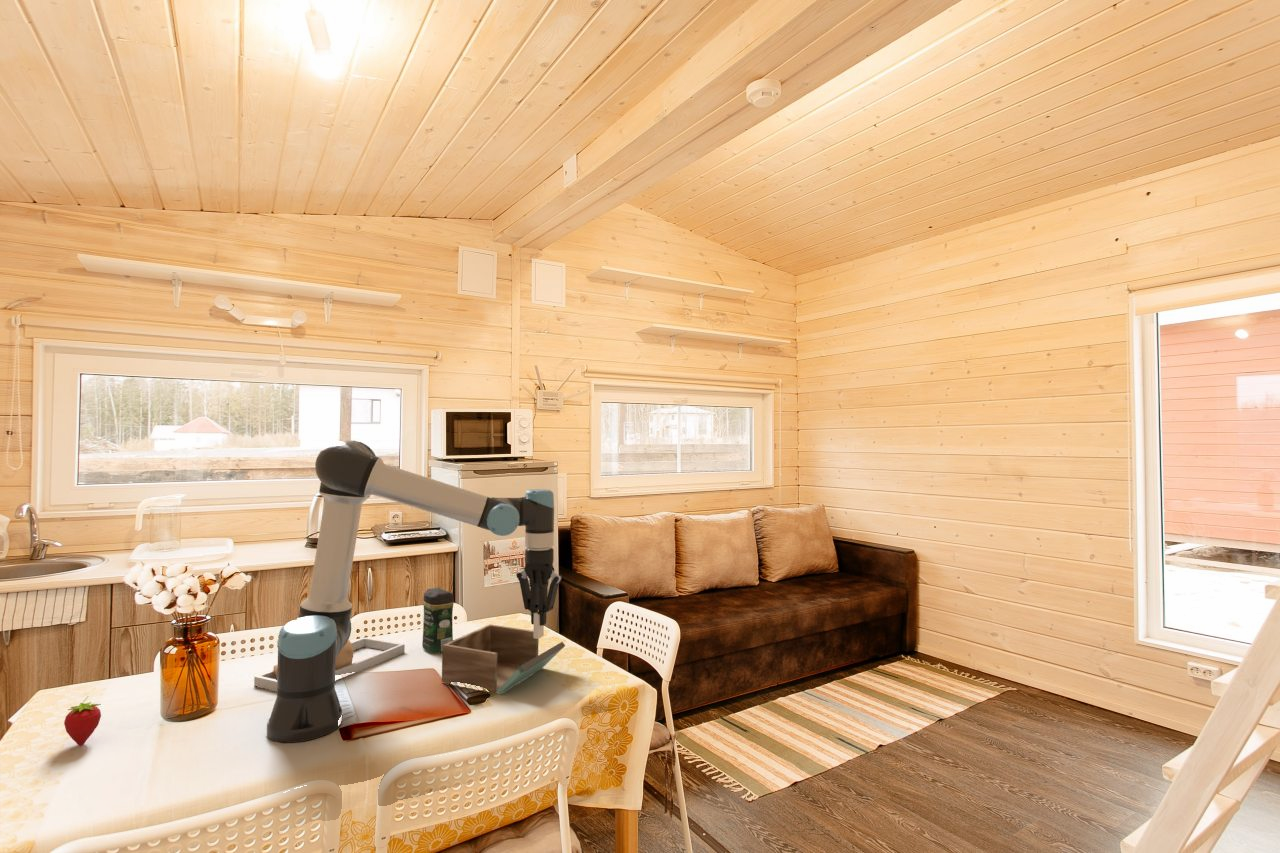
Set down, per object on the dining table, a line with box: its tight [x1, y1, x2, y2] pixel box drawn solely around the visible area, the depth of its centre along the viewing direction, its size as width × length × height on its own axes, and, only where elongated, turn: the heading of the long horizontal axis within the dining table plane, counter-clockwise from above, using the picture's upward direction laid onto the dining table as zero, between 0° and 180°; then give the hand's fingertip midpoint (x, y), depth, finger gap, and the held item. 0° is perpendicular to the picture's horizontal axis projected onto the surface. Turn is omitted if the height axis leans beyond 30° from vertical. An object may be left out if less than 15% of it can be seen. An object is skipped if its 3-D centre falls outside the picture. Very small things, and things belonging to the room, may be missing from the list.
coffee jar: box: [422, 587, 455, 654], centre depth 200 cm, size 10×8×19 cm
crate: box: [441, 624, 540, 695], centre depth 177 cm, size 21×16×11 cm
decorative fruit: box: [63, 696, 102, 746], centre depth 136 cm, size 6×8×10 cm
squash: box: [272, 639, 355, 679], centre depth 177 cm, size 11×20×9 cm, turn 130°
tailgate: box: [497, 641, 566, 695], centre depth 172 cm, size 21×1×10 cm
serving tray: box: [253, 637, 406, 693], centre depth 183 cm, size 37×16×2 cm, turn 158°
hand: (538, 637), depth 172 cm, fingers closed
